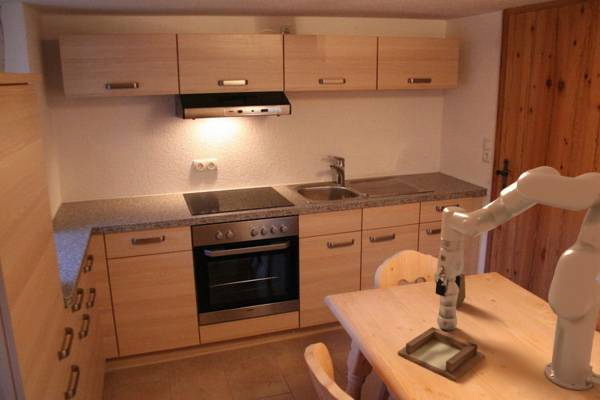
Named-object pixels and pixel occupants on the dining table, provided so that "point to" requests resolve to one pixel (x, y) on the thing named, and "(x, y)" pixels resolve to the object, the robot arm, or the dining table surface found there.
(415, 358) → the tray
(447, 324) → the plastic bottle
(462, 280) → the squeeze bottle
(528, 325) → the dining table surface
